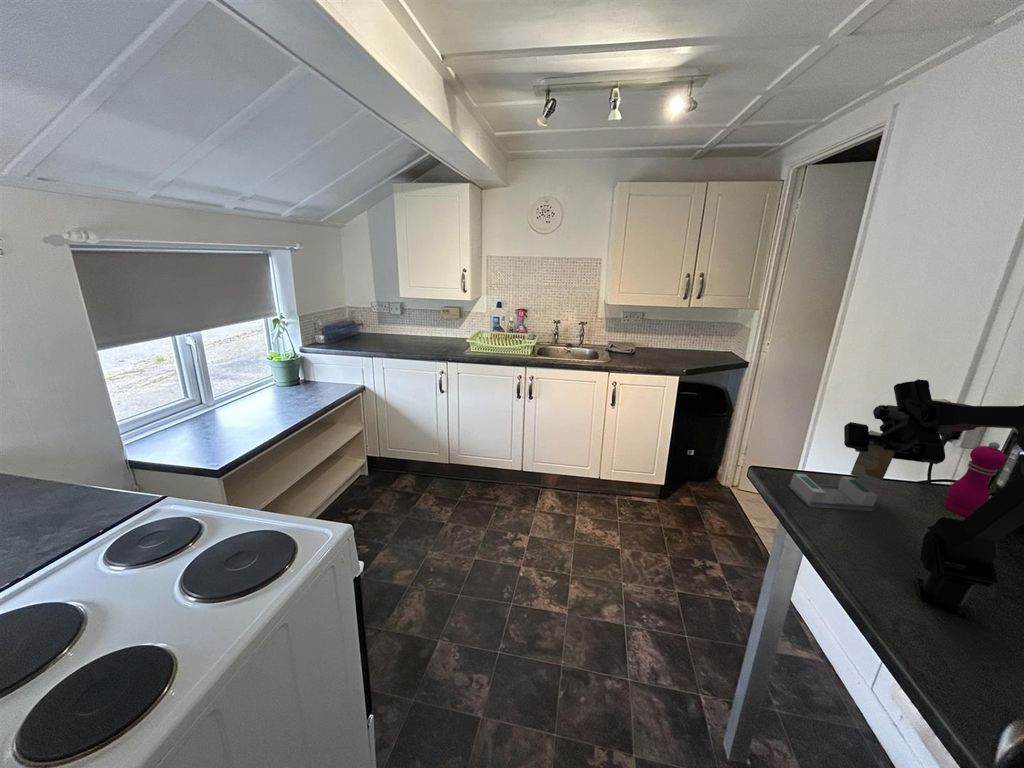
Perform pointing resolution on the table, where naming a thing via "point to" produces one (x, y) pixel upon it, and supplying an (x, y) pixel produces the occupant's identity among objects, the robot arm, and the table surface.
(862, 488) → the mounted modules
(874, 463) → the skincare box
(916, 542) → the table surface
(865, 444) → the robot arm
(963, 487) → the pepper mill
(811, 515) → the table surface
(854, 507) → the rail board
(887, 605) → the table surface
